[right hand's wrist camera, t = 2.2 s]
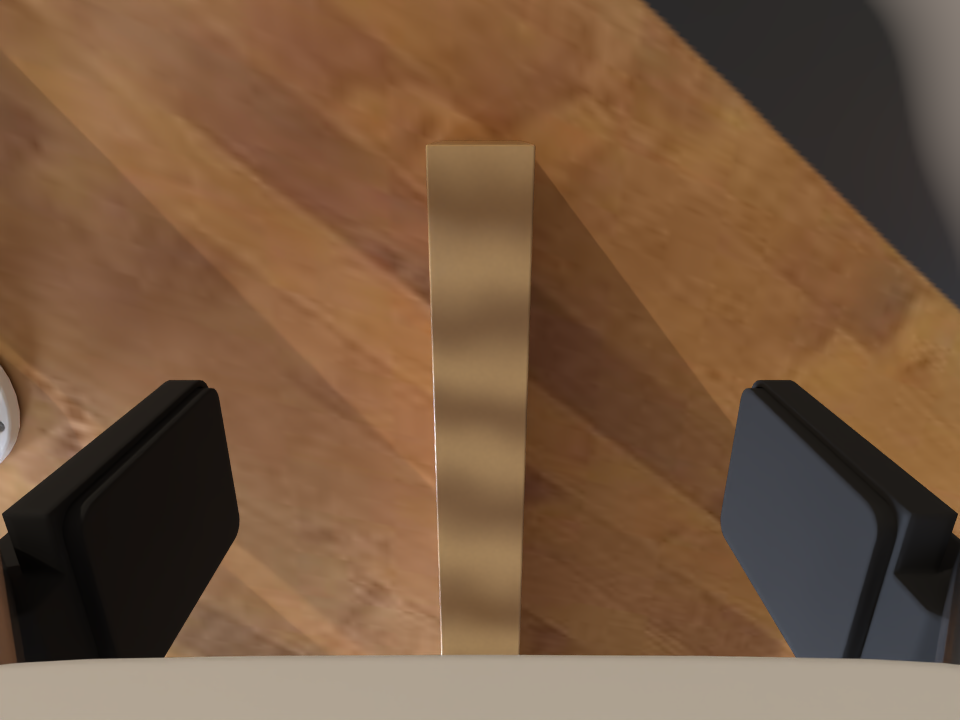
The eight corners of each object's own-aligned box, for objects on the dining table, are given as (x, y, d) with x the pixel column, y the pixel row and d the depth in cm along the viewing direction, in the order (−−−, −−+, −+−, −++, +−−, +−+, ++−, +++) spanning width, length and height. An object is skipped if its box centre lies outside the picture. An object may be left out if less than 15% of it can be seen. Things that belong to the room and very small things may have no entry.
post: (438, 140, 34) (425, 144, 26) (522, 140, 34) (535, 144, 26) (454, 828, 56) (450, 947, 48) (505, 828, 56) (510, 947, 48)
